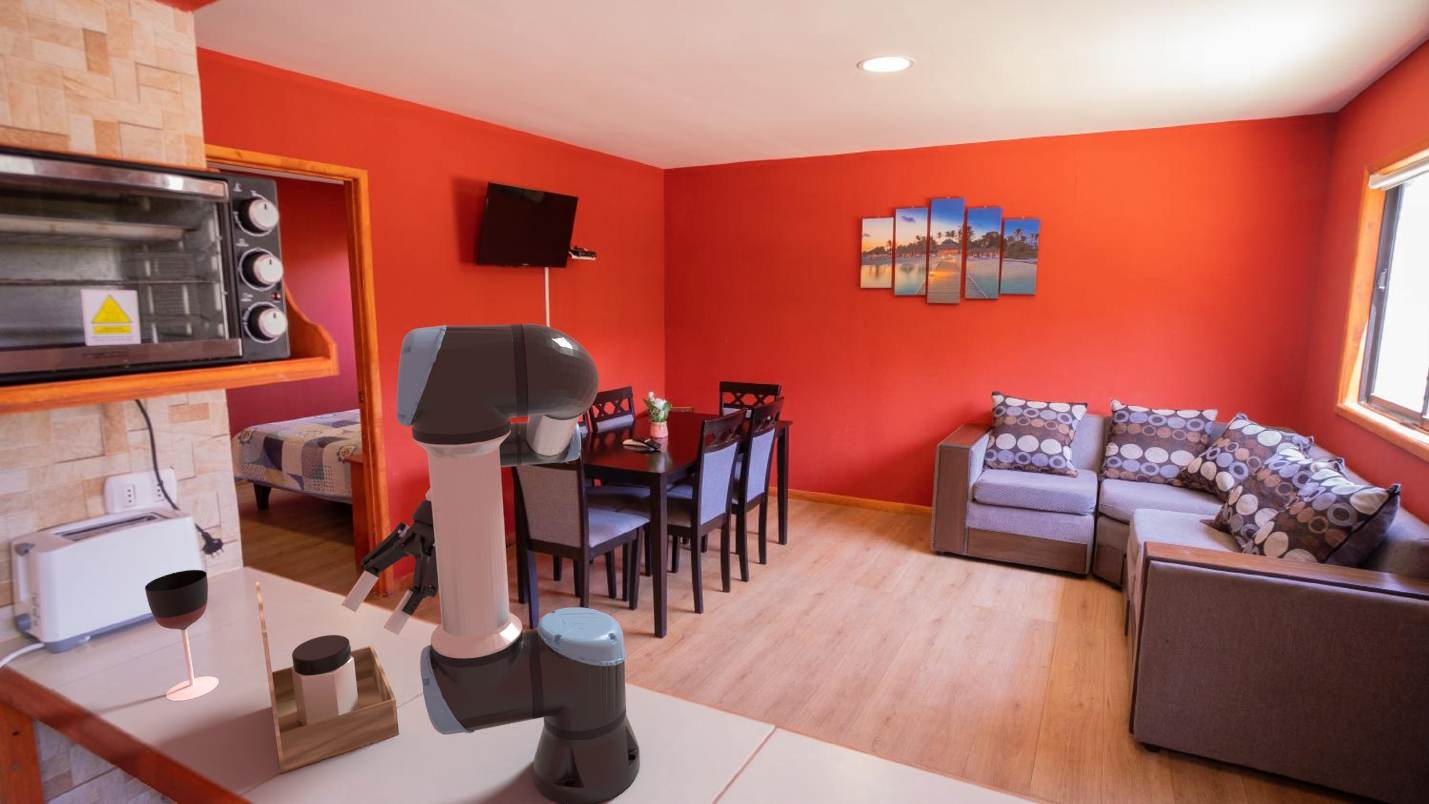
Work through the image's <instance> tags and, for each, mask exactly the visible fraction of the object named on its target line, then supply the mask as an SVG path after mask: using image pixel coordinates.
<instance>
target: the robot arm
mask: <svg viewBox="0 0 1429 804" xmlns="http://www.w3.org/2000/svg"><path fill="white" fill-rule="evenodd" d="M398 362H399V363H398V370H397V371H398V372H397V373H398V374H397V375H398V376H397V384H396V385H397V387H396V388H397V390H396V421H397V423H398V424H399V425H401V426H404V427H411V432H412V433H411V434H412V440H413V442H414V443H415V444H417V445H418V446H420V447H421V448H423V449H424V450H425V452H426V453H427V461H428V462H427V463H428V475H429V486H430V488H429V489H428V490H427V492H426V493H425V499H423V500H421V501H420V503H419V504H418V506H417V507H416V509H415V510H414V511H413V513H412V515H411V518H412V519H413V523H412V524H411V525H410V526H409V525H408V524H406V523H405V522H403V521H400V522H399V524H397V526H396V527H395V529H394V530H393V531H392V532H391V533H390V534H389V535H388V536H386V538H384V539H383V540H382V541H380V543H379V544H378V545H376V547H374V548H373V549H372V550H371V551H369V552H368V554H366V555H365V556H364V557H363V558H362V559H361V560H360V565H362V566H363V572H362V573H361V575H360V576H359V577H358V579H357V581H356V582H355V583H354V585H353V587H352V589H350V591H349V593H348V594H347V596H346V597H345V599H344V600H343V601H342V603H341V604H340V605H341V606H342V607H344V608H347V609H348V610H350V611H352V612H355V613H357V611H358V609H359V608H360V607H361V605H362V603H363V602H364V601H365V599H366V598H367V596H368V595H369V593H370V591H371V590H372V589H373V587H374V586H375V584H376V583H377V581H378V580H379V578H380V575H381V573H382V572H383V571H385V570H387V569H388V568H389V567H391V566H392V565H394V564H395V563H396V562H399V561H400V560H402V559H403V558H406V557H408V558H409V557H410V556H411V557H414V560H415V562H414V571H413V580H412V586H411V587H409V588H408V590H406V591H405V592H404V593H405V594H404V595H403V596H402V597H401V599H400V601H399V603H398V604H397V605H396V607H395V609H394V611H393V612H392V613H391V615H390V616H389V618H388V619H387V621H386V623H385V624H384V625H383V628H384V629H386V630H388V631H389V632H391V633H393V634H395V635H398V636H399V635H400V633H401V632H402V630H403V628H404V627H405V625H406V624H407V622H408V621H409V619H410V617H411V616H412V615H414V614H415V612H416V610H417V609H418V607H419V606H420V604H421V602H422V601H423V599H426V598H427V597H428V598H429V597H431V598H435V597H436V596H437V594H438V595H439V607H440V618H441V620H440V621H441V623H440V624H439V625H438V626H437V627H436V628H435V629H434V630H433V632H432V634H431V635H430V636H431V637H430V644H429V645H426V646H425V647H424V648H422V650H421V652H420V659H419V664H420V665H419V666H420V676H421V683H422V693H423V698H424V703H425V708H426V711H427V716H428V718H429V720H430V724H431V725H432V727H433V729H434V730H435V731H436V732H437V733H440V734H441V735H446V736H447V735H448V736H449V735H455V734H461V733H465V734H472V733H475V731H479V730H480V731H481V730H485V729H490V728H496V727H501V726H505V725H506V726H507V725H511V724H516V723H521V722H522V723H523V722H526V721H531V720H537V719H541V718H543V726H542V729H541V734H540V736H539V741H538V744H537V747H536V751H535V754H534V758H533V781H534V783H535V786H536V789H537V790H538V791H539V792H540V793H541V794H542V795H543V796H545V797H546V798H548V799H549V800H551V801H554V802H556V803H559V804H598V803H601V802H604V801H607V800H609V799H612V798H613V797H616V796H617V795H619V794H621V793H623V792H624V791H625V790H626V789H628V788H629V787H630V786H631V785H632V783H633V782H634V781H635V780H636V778H637V776H638V774H639V772H640V767H641V756H640V755H641V754H640V751H641V750H640V746H639V742H638V740H637V738H636V736H635V732H634V731H633V728H632V725H631V723H630V720H629V718H628V715H627V701H626V700H627V697H626V696H627V695H626V691H627V690H626V670H625V669H626V667H625V666H626V662H625V660H626V657H627V651H626V648H625V643H624V642H625V641H624V632H623V630H622V627H621V625H620V623H619V622H618V621H617V620H616V619H615V618H614V617H613V616H612V615H609V614H608V613H605V612H602V611H601V610H597V609H592V608H587V607H579V606H578V607H563V608H562V607H561V608H559V609H555V610H553V611H552V612H548V613H546V614H544V615H543V616H542V617H541V618H540V620H539V623H538V625H537V629H530V630H529V629H528V630H523V624H522V620H521V619H520V618H519V617H518V616H516V615H515V614H513V613H512V612H510V598H509V582H508V580H509V579H508V566H507V552H506V551H507V549H506V533H505V532H506V531H505V517H504V502H503V499H504V498H503V486H502V483H503V482H502V470H501V469H502V468H506V467H518V466H528V465H539V464H540V465H541V464H552V463H553V464H554V463H557V464H563V463H565V462H571V461H576V460H578V459H579V457H580V456H581V450H582V437H581V436H582V435H581V429H580V424H579V423H578V422H579V419H580V417H581V416H583V415H584V414H585V413H587V412H588V411H589V410H590V408H591V407H592V406H593V404H594V402H595V400H596V398H597V396H598V395H597V394H598V392H599V389H600V377H599V376H600V375H599V372H598V367H597V364H596V363H595V361H594V359H593V357H592V355H591V354H590V353H589V352H588V350H587V349H586V348H585V347H584V346H583V345H582V344H581V343H580V342H578V341H577V340H576V339H574V338H573V337H572V336H571V335H569V334H567V333H565V332H563V331H561V330H559V329H557V328H554V327H551V326H548V325H542V324H538V323H519V324H515V323H514V324H471V325H469V324H467V325H466V324H465V325H463V324H462V325H457V324H455V325H447V324H444V325H438V326H437V325H435V326H430V327H429V326H428V327H427V326H426V327H422V328H421V327H420V328H419V327H418V328H414V329H411V330H409V332H407V333H406V334H405V335H404V337H403V340H402V342H401V347H400V354H399V361H398ZM527 417H528V418H527ZM513 418H527V421H524V422H523V421H521V422H511V419H513ZM430 586H431V587H430Z"/></svg>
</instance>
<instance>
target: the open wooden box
mask: <svg viewBox="0 0 1429 804" xmlns="http://www.w3.org/2000/svg"><path fill="white" fill-rule="evenodd" d="M255 589H256V596H257V602H258V612H259V619H260V621H259V622H260V627H261V636H262V642H263V650H264V658H265V665H266V673H267V680H268V687H269V688H268V689H269V696H270V702H271V703H270V704H271V705H270V706H271V713H272V718H273V719H272V720H273V724H274V725H273V727H274V732H275V740H276V742H275V743H276V747H277V754H278V755H277V756H278V762H279V770H280V775H282V774H284V773H288V772H291V771H294V770H297V769H299V768H304V767H305V766H306V767H307V766H309V765H312V764H315V763H319V762H320V761H324V760H327V759H330V758H333V757H336V756H339V755H342V754H345V753H348V752H351V751H354V750H357V749H360V748H363V747H366V746H368V745H372V744H375V743H378V742H381V741H383V740H386V739H391V738H392V737H396V736H399V735H400V730H399V729H400V728H399V720H398V717H399V716H398V708H397V699H396V696H395V694H394V691H393V690H392V687H391V685H390V683H389V682H390V681H389V680H388V678H387V676H386V673H385V671H384V668H383V666H382V664H381V662H380V659H379V656H378V655H377V652H376V649H375V647H374V645H372V644H371V645H368V646H364V647H361V648H357V649H354V650H353V649H352V650H351V656H352V657H353V658H354V665H355V675H356V684H357V694H358V703H359V709H358V710H354V711H351V712H348V713H345V714H342V715H338V716H335V717H332V718H329V719H325V720H322V721H319V722H316V723H312V724H309V725H306V726H303V725H302V724H301V723H300V721H299V720H298V717H297V709H296V701H295V693H294V685H293V677H292V669H291V668H292V666H290V667H286V668H282V669H279V670H275V671H273V670H272V663H271V654H270V647H269V645H270V644H269V639H268V631H267V625H266V619H265V609H264V603H263V598H262V591H261V585H260V581H256V582H255Z"/></svg>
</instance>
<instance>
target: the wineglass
mask: <svg viewBox="0 0 1429 804" xmlns="http://www.w3.org/2000/svg"><path fill="white" fill-rule="evenodd" d="M144 590H145V594H146V598H147V603H148V606H149V609H150V611H151V614H152V616H153V618H154V620H155V621H156V623H157V624H158V625H159V626H160V627H162V628H166V629H169V630H170V629H171V630H181V638H182V644H183V651H184V658H185V664H186V670H187V676H188V677H187V678H188V679H187V680H184V681H182V682H180V683H178V684H175V685H174V686H173V687H171V688H170V689H169V690H168V691H167V692H166V695H165V697H166V699H167V700H170V701H172V702H173V701H174V702H175V701H176V702H182V701H183V702H184V701H188V700H192V699H197V698H199V697H202V696H204V695H206V694H208V693H210V692H211V691H212V690H214V689H215V688H217V686H218V685H219V682H220V680H219V679H218V678H217V677H214V676H209V675H208V676H199V677H194V676H195V675H194V669H193V662H192V655H191V650H190V642H189V634H188V630H187V629H188V628H189V627H190V626H191V625H193V624H194V623H195V622H197V621H198V620H200V618H201V617H202V616H203V615H204V614H205V613H206V609H207V605H208V598H209V597H208V596H209V582H208V574H207V571H206V570H202V569H187V570H182V571H181V570H180V571H176V572H172V573H167V574H166V575H162V576H160V577H157V578H155V579H153V580H151V581H149V582H148V583H147V584H146V585H145V587H144Z"/></svg>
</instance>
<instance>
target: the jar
mask: <svg viewBox="0 0 1429 804" xmlns="http://www.w3.org/2000/svg"><path fill="white" fill-rule="evenodd" d="M351 651H352V647H351V644H350V640H349V638H347V637H346V636H344V635H338V634H328V635H322V636H317V637H313V638H311V639H308V640H305V641H304V642H301V643H300V644H299V645H297V646H296V647H295V648H294V649H293V651H292V652H291V653H292V654H291V656H292V658H291V659H292V665H291V667H292V668H291V669H292V677H293V685H294V693H295V701H296V709H297V717H298V720H299V721H300V723H301V724H302V725H303V726H306V725H309V724H312V723H316V722H319V721H322V720H325V719H329V718H332V717H335V716H338V715H342V714H345V713H348V712H351V711H354V710H358V709H359V703H358V694H357V684H356V675H355V665H354V658H353V657H352V656H351Z"/></svg>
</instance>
